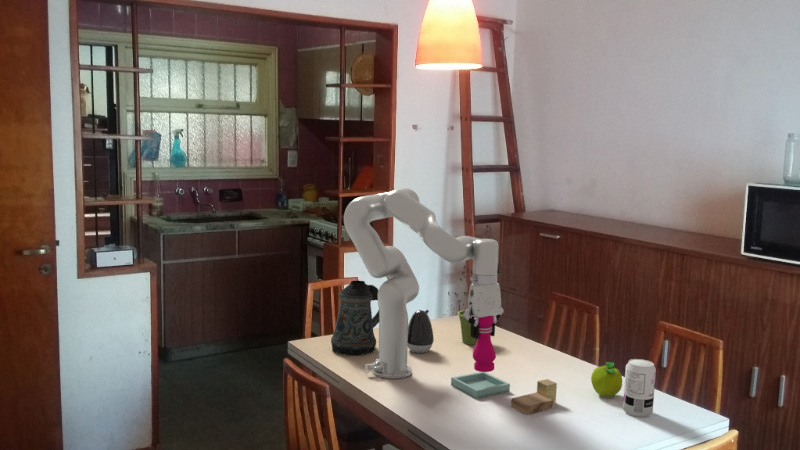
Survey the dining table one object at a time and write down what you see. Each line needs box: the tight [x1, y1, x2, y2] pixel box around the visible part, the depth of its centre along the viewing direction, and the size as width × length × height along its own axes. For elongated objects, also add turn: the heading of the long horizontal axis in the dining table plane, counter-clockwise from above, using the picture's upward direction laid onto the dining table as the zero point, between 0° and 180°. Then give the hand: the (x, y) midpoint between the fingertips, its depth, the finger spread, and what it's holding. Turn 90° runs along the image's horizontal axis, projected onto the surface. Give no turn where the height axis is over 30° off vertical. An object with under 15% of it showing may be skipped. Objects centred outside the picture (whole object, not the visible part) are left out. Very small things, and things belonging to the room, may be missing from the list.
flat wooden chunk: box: [510, 391, 554, 416], centre depth 210 cm, size 10×7×3 cm
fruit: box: [590, 361, 623, 398], centre depth 221 cm, size 9×9×10 cm
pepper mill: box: [472, 316, 497, 373], centre depth 223 cm, size 7×7×20 cm
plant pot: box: [457, 309, 478, 346], centre depth 274 cm, size 12×12×11 cm
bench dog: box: [536, 378, 558, 404], centre depth 215 cm, size 4×4×6 cm
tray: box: [450, 371, 511, 400], centre depth 225 cm, size 13×13×2 cm
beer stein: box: [330, 280, 379, 357], centre depth 261 cm, size 16×19×25 cm
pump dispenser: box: [408, 309, 435, 354], centre depth 261 cm, size 10×10×15 cm
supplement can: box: [622, 358, 657, 418], centre depth 208 cm, size 8×8×15 cm
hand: (482, 335), depth 223 cm, fingers closed on pepper mill, 5 cm apart
